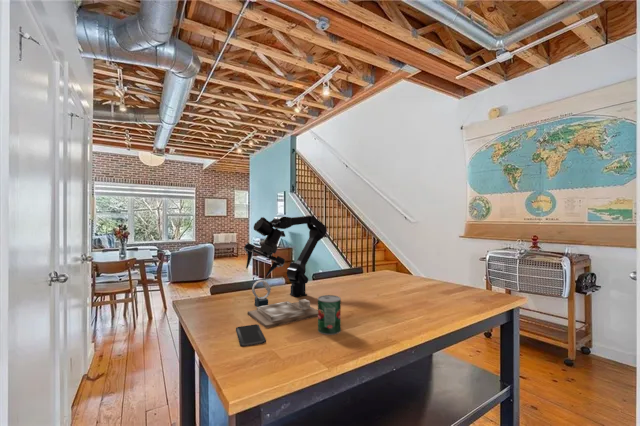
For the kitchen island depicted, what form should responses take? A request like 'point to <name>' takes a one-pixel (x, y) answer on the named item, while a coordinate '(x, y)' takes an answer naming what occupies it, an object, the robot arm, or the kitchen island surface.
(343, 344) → the kitchen island surface
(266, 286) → the watch
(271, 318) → the charging board
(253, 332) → the phone
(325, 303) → the canned tomato
